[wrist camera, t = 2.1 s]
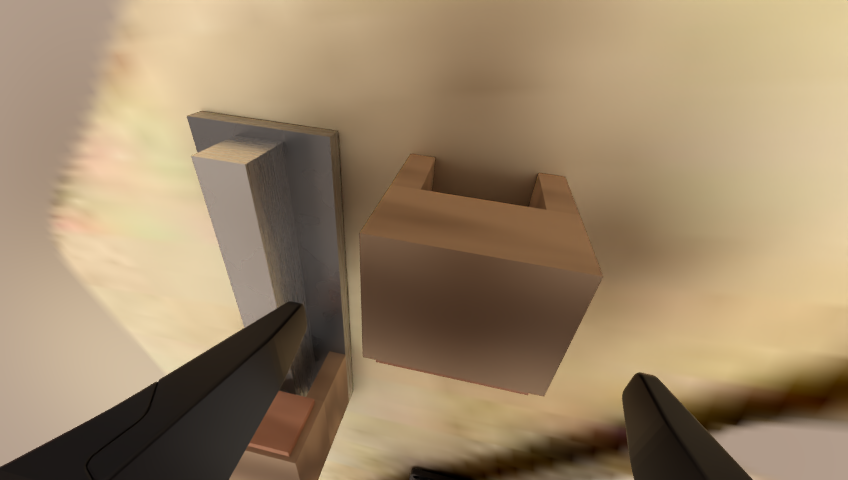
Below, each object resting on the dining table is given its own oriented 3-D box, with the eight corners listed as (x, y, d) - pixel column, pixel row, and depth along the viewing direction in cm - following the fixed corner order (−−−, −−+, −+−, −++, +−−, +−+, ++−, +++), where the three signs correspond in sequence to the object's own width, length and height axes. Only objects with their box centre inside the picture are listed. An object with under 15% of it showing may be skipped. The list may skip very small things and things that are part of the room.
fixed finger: (348, 401, 23) (307, 506, 18) (266, 382, 24) (204, 478, 19) (345, 350, 20) (294, 459, 15) (250, 329, 21) (172, 427, 16)
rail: (353, 391, 24) (334, 437, 21) (272, 372, 24) (244, 415, 22) (338, 131, 14) (299, 159, 11) (201, 111, 14) (133, 133, 12)
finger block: (529, 283, 16) (540, 403, 11) (404, 260, 17) (363, 364, 12) (565, 176, 13) (603, 276, 8) (410, 153, 14) (359, 232, 9)
